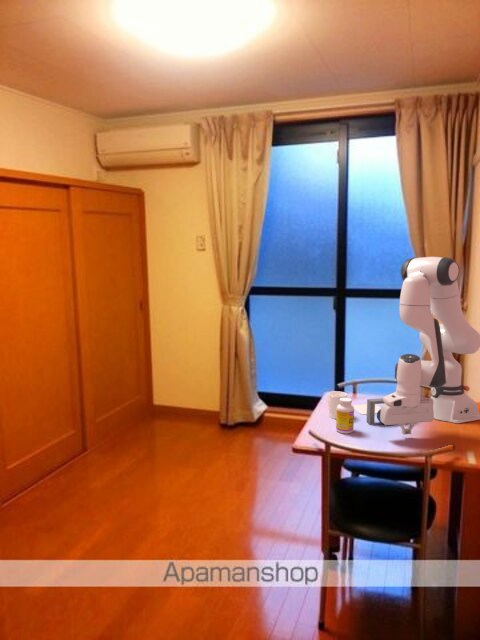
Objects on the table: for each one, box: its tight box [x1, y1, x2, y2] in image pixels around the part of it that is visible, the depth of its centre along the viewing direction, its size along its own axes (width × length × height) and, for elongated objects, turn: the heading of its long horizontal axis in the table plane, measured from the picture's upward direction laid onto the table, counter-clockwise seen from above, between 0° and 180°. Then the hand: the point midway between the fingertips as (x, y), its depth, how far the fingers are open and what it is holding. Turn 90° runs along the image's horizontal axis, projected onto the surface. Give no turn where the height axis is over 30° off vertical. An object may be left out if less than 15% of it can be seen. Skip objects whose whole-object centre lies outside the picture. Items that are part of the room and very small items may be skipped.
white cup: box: [327, 390, 348, 420], centre depth 208 cm, size 8×8×10 cm
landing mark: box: [351, 403, 381, 416], centre depth 218 cm, size 12×12×1 cm
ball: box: [376, 409, 383, 424], centre depth 201 cm, size 6×6×6 cm
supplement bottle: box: [335, 397, 355, 435], centre depth 192 cm, size 7×7×13 cm
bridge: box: [366, 397, 385, 425], centre depth 201 cm, size 3×15×10 cm, turn 100°
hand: (406, 433), depth 185 cm, fingers closed
